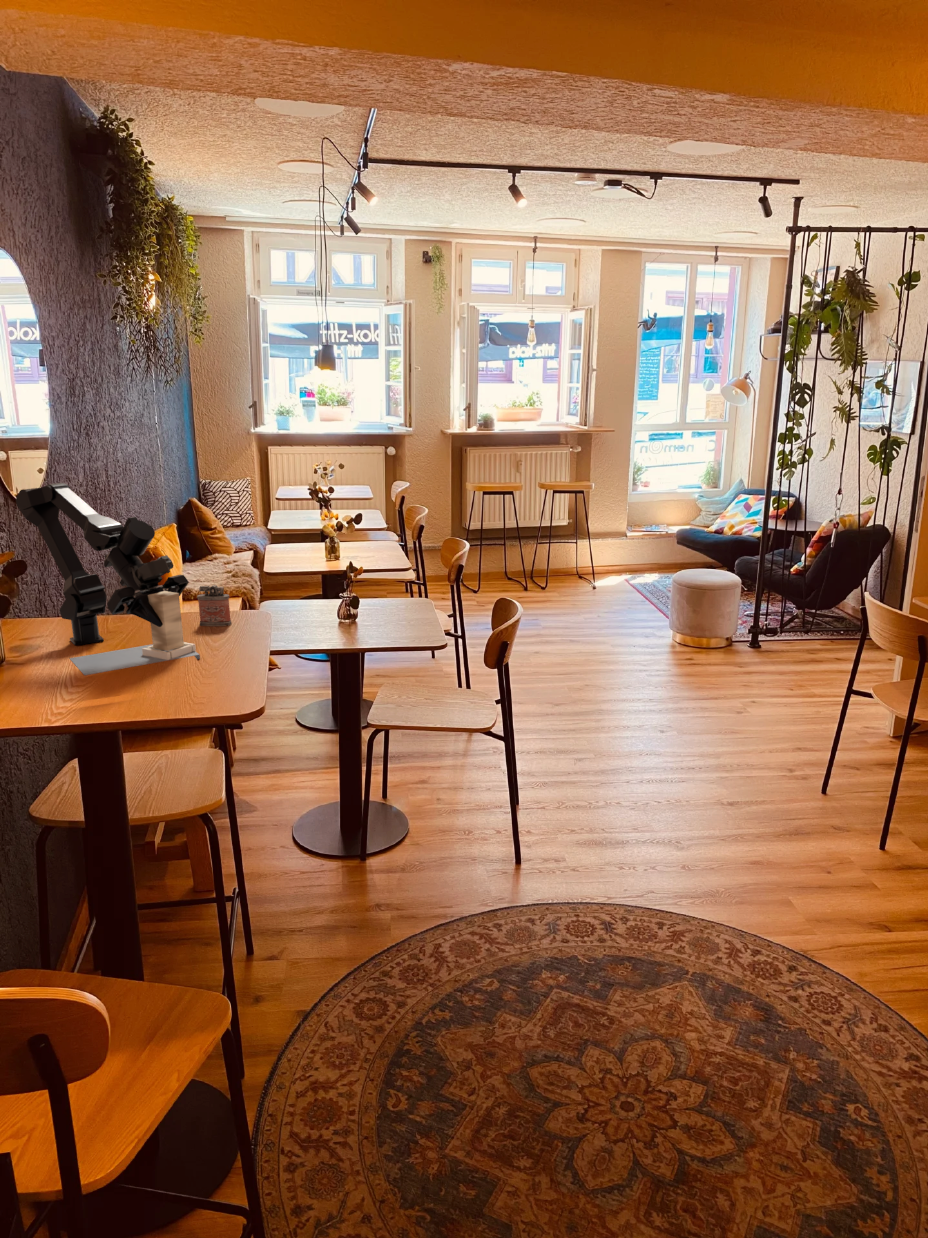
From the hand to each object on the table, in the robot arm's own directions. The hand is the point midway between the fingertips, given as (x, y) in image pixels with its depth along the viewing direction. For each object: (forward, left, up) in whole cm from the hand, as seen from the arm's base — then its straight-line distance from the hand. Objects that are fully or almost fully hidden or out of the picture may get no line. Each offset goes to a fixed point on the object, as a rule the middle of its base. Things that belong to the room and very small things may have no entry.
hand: (170, 623), depth 198 cm
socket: (-1, -1, -8) cm, 8 cm away
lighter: (-23, +17, -8) cm, 30 cm away
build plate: (-3, -8, -8) cm, 11 cm away
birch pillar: (-1, -1, -6) cm, 6 cm away
